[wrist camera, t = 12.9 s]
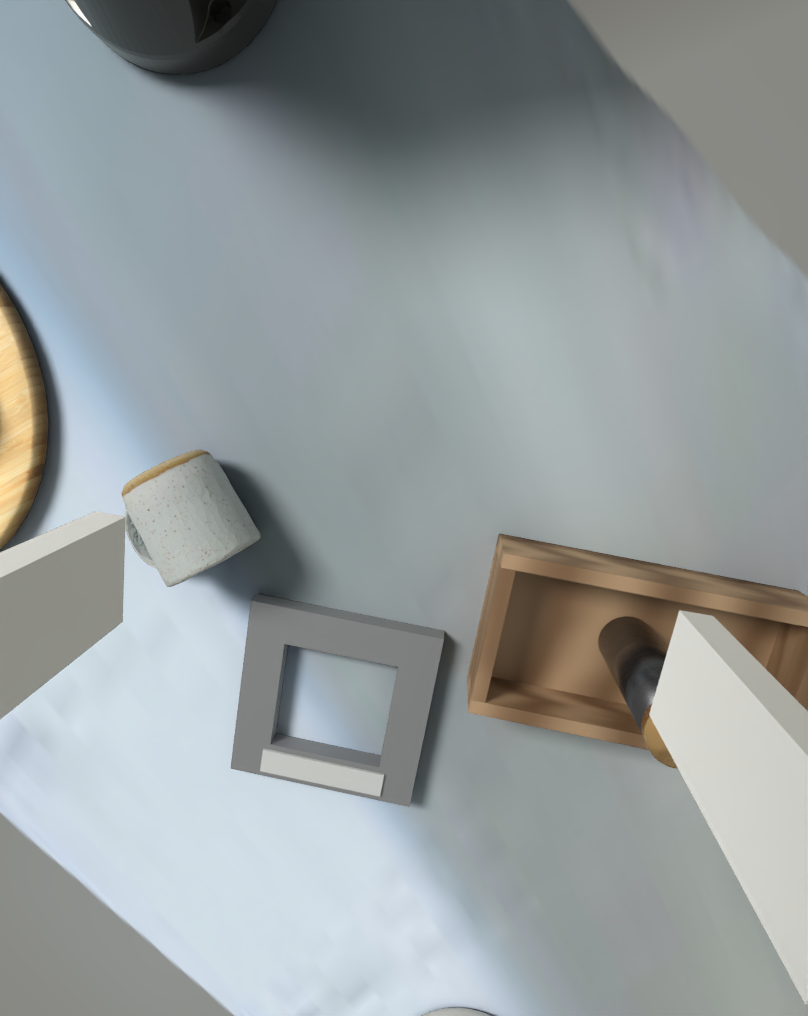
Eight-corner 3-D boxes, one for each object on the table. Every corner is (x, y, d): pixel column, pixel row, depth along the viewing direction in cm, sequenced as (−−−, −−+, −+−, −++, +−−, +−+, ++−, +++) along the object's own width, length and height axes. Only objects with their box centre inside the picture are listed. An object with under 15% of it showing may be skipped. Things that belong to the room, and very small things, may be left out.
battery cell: (605, 611, 44) (662, 703, 31) (660, 622, 44) (739, 719, 31) (592, 660, 45) (642, 769, 32) (646, 671, 45) (717, 785, 32)
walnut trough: (467, 677, 47) (468, 712, 42) (499, 533, 44) (504, 553, 39) (747, 734, 46) (782, 776, 41) (798, 590, 43) (841, 618, 38)
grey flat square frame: (257, 593, 47) (250, 601, 45) (444, 630, 46) (444, 640, 45) (237, 757, 51) (229, 770, 49) (410, 794, 50) (409, 808, 48)
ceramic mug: (221, 437, 45) (174, 450, 37) (275, 528, 46) (240, 558, 39) (115, 499, 47) (51, 522, 39) (169, 584, 48) (117, 622, 41)
